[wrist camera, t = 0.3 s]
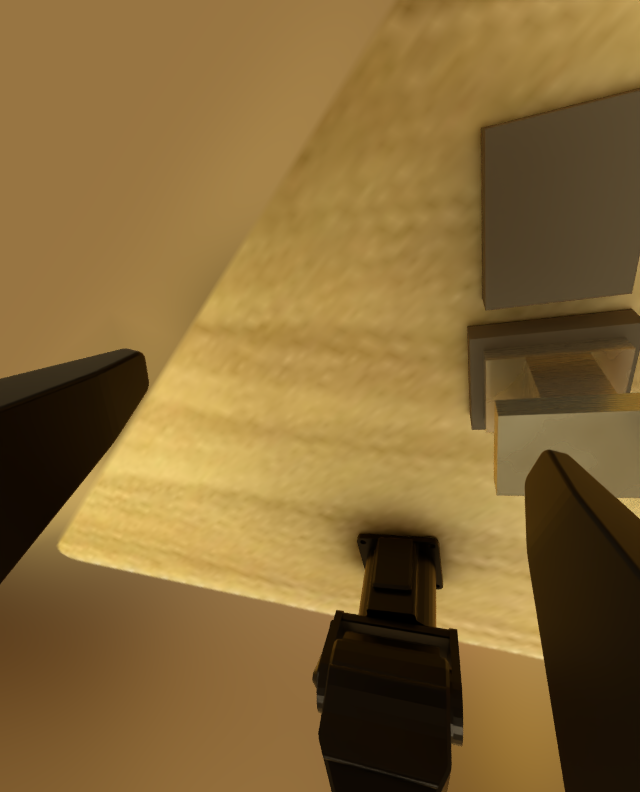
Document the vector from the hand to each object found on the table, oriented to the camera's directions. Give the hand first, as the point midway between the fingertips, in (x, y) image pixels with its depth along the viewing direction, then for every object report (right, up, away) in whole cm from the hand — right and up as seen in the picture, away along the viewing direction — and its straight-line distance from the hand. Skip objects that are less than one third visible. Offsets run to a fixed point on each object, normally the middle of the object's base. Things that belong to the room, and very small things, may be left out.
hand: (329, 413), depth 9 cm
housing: (+11, +1, +11) cm, 16 cm away
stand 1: (+10, +8, +8) cm, 15 cm away
